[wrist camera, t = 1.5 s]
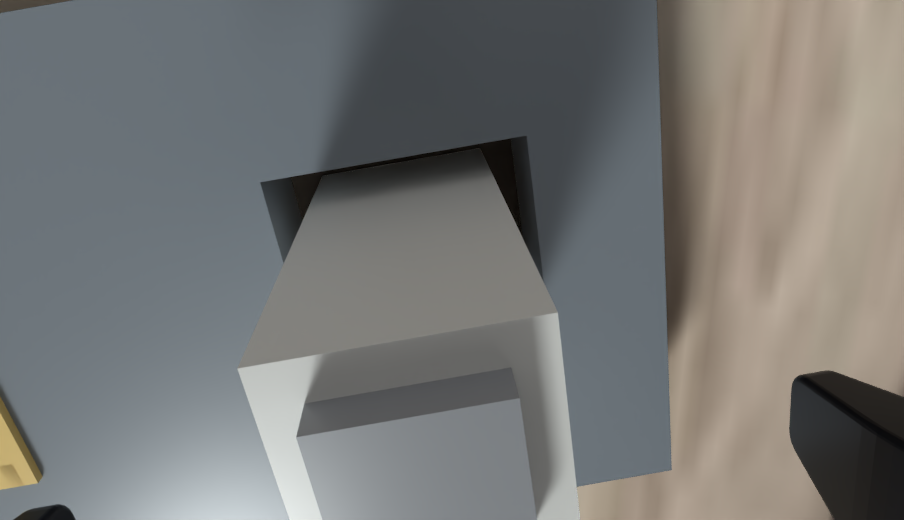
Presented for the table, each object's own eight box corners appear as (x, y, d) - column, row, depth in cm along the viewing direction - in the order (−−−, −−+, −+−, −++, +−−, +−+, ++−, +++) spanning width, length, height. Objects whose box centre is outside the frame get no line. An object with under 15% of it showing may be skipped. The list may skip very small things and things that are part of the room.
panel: (608, -85, 13) (657, -104, 10) (636, 406, 17) (674, 476, 15) (-481, 106, 13) (-694, 134, 10) (-159, 546, 17) (-252, 638, 15)
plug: (479, 148, 14) (571, 339, 7) (500, 289, 16) (595, 588, 8) (322, 175, 14) (222, 401, 7) (357, 314, 16) (310, 638, 8)
